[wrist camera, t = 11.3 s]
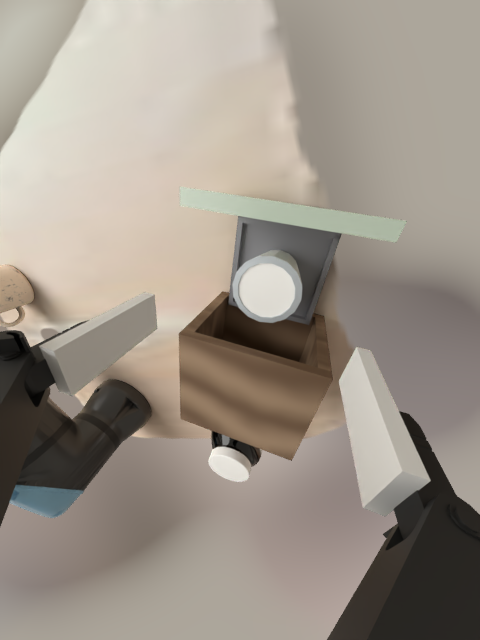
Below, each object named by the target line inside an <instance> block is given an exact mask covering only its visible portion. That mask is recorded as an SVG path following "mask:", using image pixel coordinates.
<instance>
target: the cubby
mask: <svg viewBox="0 0 480 640" xmlns="http://www.w3.org/2000/svg"><path fill="white" fill-rule="evenodd" d="M228 302H229V293H227V292H222V293H221V294H220V295H219V296H217V297H216V298H215V299H214V300H213V301H212V302H211V303H210V304H209V305H208V306H207V307H206V308H205V309H204V310H203V311H202V312H201V313H200V314H199V315H198V316H197V317H196V318H195V319H194V320H193V321H192V322H191V323H190V324H188V325H187V326H186V327H185V328H184V329H183V330H182V331H181V332H180V333H179V363H180V407H181V419H182V420H185V421H188V422H190V423H193V424H196V425H198V426H201V427H204V428H206V429H209V430H212V431H214V432H217V433H219V434H222V435H225V436H227V437H230V438H233V439H235V440H238V441H241V442H243V443H246V444H249V445H251V446H254V447H257V448H259V449H262V450H265V451H267V452H270V453H273V454H275V455H278V456H281V457H283V458H286V459H288V460H291V461H292V459H293V457H294V455H295V453H296V451H297V449H298V447H299V445H300V443H301V441H302V439H303V437H304V435H305V433H306V431H307V429H308V427H309V425H310V423H311V421H312V419H313V417H314V415H315V413H316V411H317V409H318V407H319V405H320V403H321V401H322V400H323V398H324V396H325V394H326V392H327V390H328V388H329V386H330V384H331V382H332V380H333V377H332V370H331V363H330V356H329V349H328V342H327V334H326V327H325V320H324V316H321V315H317V314H313V315H312V318H311V321H310V324H309V325H307V324H303V323H299V322H295V321H291V320H287V319H284V320H281V321H277V322H274V323H268V322H259V321H257V320H254V319H252V318H250V317H248V316H247V315H246V314H245V313H244V312H243V311H242V310H241V309H240V308H239V307H236V306H232V305H228Z"/></svg>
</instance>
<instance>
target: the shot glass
mask: <svg viewBox="0 0 480 640" xmlns="http://www.w3.org/2000/svg"><path fill="white" fill-rule="evenodd" d="M232 285H233V297H234V299H235V301H236V303H237V305H238V307H239V308H240V309H241V310H242V311H243V312H244V313H245V314H246V315H247V316H248V317H250V318H252V319H254V320H257V321H259V322H268V323H274V322H277V321H281V320H284V319H286V318H287V317H288V316H290V315H291V314H292V313H294V312H295V310H296V309H297V307H298V305H299V303H300V302H301V298H302V282H301V277H300V273H299V269H298V266H297V263H296V260H295V259H294V258H293V257H292V256H291V255H290V254H289V253H287V252H284V251H282V250H271V251H268V252H266V253H264V254H262V255H259V256H257V257H255V258H253V259H251V260H249V261H246V262H245V263H244V264H243V265H242V266H241V267H240V269H239V270H238V271H237V272H236V275H235V278H234V281H233V284H232Z"/></svg>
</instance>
